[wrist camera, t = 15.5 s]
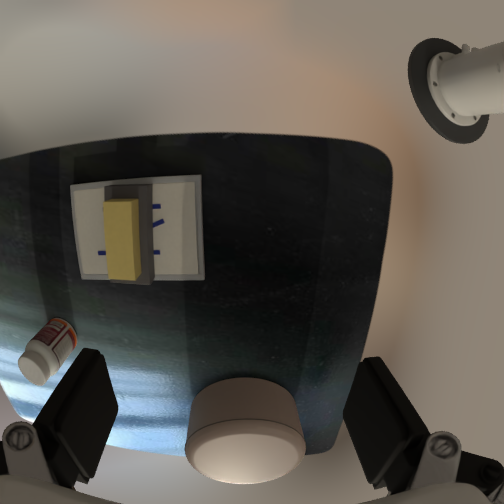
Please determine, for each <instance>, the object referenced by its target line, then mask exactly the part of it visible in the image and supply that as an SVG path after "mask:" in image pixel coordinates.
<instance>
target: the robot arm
mask: <svg viewBox="0 0 504 504" xmlns="http://www.w3.org/2000/svg"><path fill="white" fill-rule="evenodd" d="M469 50H470V48H469V46H468V45H466V44H463V45H462V52H461V53H459V54H456V55H455V54H453V53H449V52H442V53H439V54H437V55H435V56H433V57H432V58H431V60H430V62H429V64H428V68H427V81H428V86H429V90H430V92H431V95H432V98H433V99H434V101H435V103H436V105H437V107H438V108H439V110H440V111H441V112H442V113H443V114H444V116H445V117H447V118H448V119H449V120H450V121H451V122H453V123H455V124H457V125H460V126H470V125H473V124H475V123H476V122H477V121H478V120H479V118H480V117H481V115H485V114H497V113H504V42H501V43H498V44H494V45H491V46H488V47H485V48H482V49H477V48H472V50H471V52H470V53H469ZM117 413H118V403H117V400H116V397H115V394H114V391H113V387H112V384H111V380H110V377H109V373H108V369H107V366H106V362H105V358H104V356H103V355H102V354H100V352H99V350H95V349H89V348H83V349H82V351H81V352H80V353H79V355H78V356H77V358H76V359H75V360H74V362H73V363H72V365H71V366H70V368H69V369H68V371H67V372H66V373H65V375H64V376H63V378H62V379H61V381H60V382H59V384H58V385H57V387H56V388H55V390H54V391H53V393H52V394H51V396H50V397H49V399H48V400H47V402H46V404H45V405H44V407H43V408H42V410H41V412H40V413H39V415H38V416H37V418H36V420H35V421H34V423H33V425H31V424H29V423H27V422H22V421H21V422H15V423H12V424H10V425H9V426H8V427H7V428H6V429H5V430H4V432H3V436H2V441H0V504H121V503H117V502H113V501H109V500H105V499H101V498H98V497H94V496H90V495H87V494H84V493H80V492H78V491H76V490H75V488H74V485H75V482H76V481H79V482H82V483H85V484H88V481H89V479H90V478H93V477H94V475H95V473H96V470H97V467H98V464H99V461H100V459H101V455H102V453H103V450H104V447H105V445H106V442H107V439H108V437H109V434H110V431H111V429H112V426H113V424H114V421H115V419H116V416H117ZM343 419H344V421H345V424H346V427H347V429H348V431H349V434H350V437H351V439H352V442H353V444H354V447H355V450H356V452H357V455H358V458H359V460H360V463H361V465H362V468H363V471H364V473H365V476H366V479H367V481H368V483H370V484H373V487H374V489H379V488H382V487H387V489H388V491H389V492H388V495H387V497H383V498H380V499H376V500H372V501H368V502H364V503H360V504H504V467H503V466H502V465H501V463H499V462H498V461H496V460H494V459H490V458H486V457H482V456H479V455H475V454H471V453H468V452H465V451H461V443H460V441H459V439H458V438H457V437H456V436H454V435H453V434H452V433H449V432H445V431H439V432H435V433H432V434H430V433H429V431H428V429H427V427H426V425H425V424H424V422H423V421H422V419H421V418H420V416H419V414H418V413H417V412H416V410H415V408H414V407H413V405H412V404H411V402H410V401H409V399H408V398H407V396H406V395H405V393H404V391H403V390H402V388H401V387H400V386H399V384H398V382H397V381H396V380H395V378H394V377H393V375H392V374H391V372H390V371H389V369H388V368H387V366H386V365H385V363H384V362H383V360H382V359H381V358H380V357H369V358H364V360H363V362H360V363H359V365H358V368H357V371H356V374H355V377H354V381H353V384H352V387H351V390H350V393H349V396H348V398H347V401H346V404H345V407H344V410H343Z"/></svg>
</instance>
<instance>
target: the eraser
mask: <svg viewBox="0 0 504 504" xmlns="http://www.w3.org/2000/svg"><path fill="white" fill-rule="evenodd" d="M152 193H153V184H123V185H109V186H104V202H103V216H104V234H105V247H106V259H107V269H108V278H109V279H110V282H114V283H129V284H145V285H150V284H151V283H152V281H153V280H154V278H155V269H154V248H153V205H152Z"/></svg>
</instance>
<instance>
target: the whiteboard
mask: <svg viewBox="0 0 504 504" xmlns="http://www.w3.org/2000/svg"><path fill="white" fill-rule="evenodd" d="M123 184H153V193H152V205H153V248H154V269H155V278H154V280H204V279H205V266H204V244H203V218H202V176H201V175H179V176H161V177H146V178H133V179H121V180H110V181H100V182H91V183H83V184H74V185H70V189H71V204H72V215H73V224H74V233H75V241H76V248H77V254H78V261H79V267H80V272H81V277H82V279H104V280H110V279H109V278H108V269H107V259H106V247H105V234H104V216H103V202H104V186H109V185H123Z"/></svg>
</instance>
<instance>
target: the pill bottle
mask: <svg viewBox="0 0 504 504" xmlns="http://www.w3.org/2000/svg"><path fill="white" fill-rule="evenodd" d="M76 345H77V335H76V332H75V330H74V329H73V327H72V326H71V325H70V324H69V323H68V322H67V321H65V320H63V319H61V318H53V319H51V320H50V321H49V322H48V323H47V324H46V325H45V326H44V327H43V328H42V329H41V330H40V331H39V332H38V333H37V334H36V335H35V336H34V337H33V338H32V339H31V340H30V341H29V343H28V344H27V345H26V348H25V352H24V353H23V354H22V355H21V357H20V358H19V360H18V365H19V368H20V371H21V372H22V374H23V375H24V376H25V377H26V378H27V379H28V380H29V381H30V382H31V383H33V384H35V385H38V386H42V385H44V384H45V383H46V381H47V380H48V379H49V378H50V376H52V375H54V374H56V373H57V371H58V370H59V368H60V367H61V366H62V364H63V363H64V361H65V360H66V359H67V357H68V356H69V355H70V353H71V352H72V351H73V349H74V348H75V346H76Z"/></svg>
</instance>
